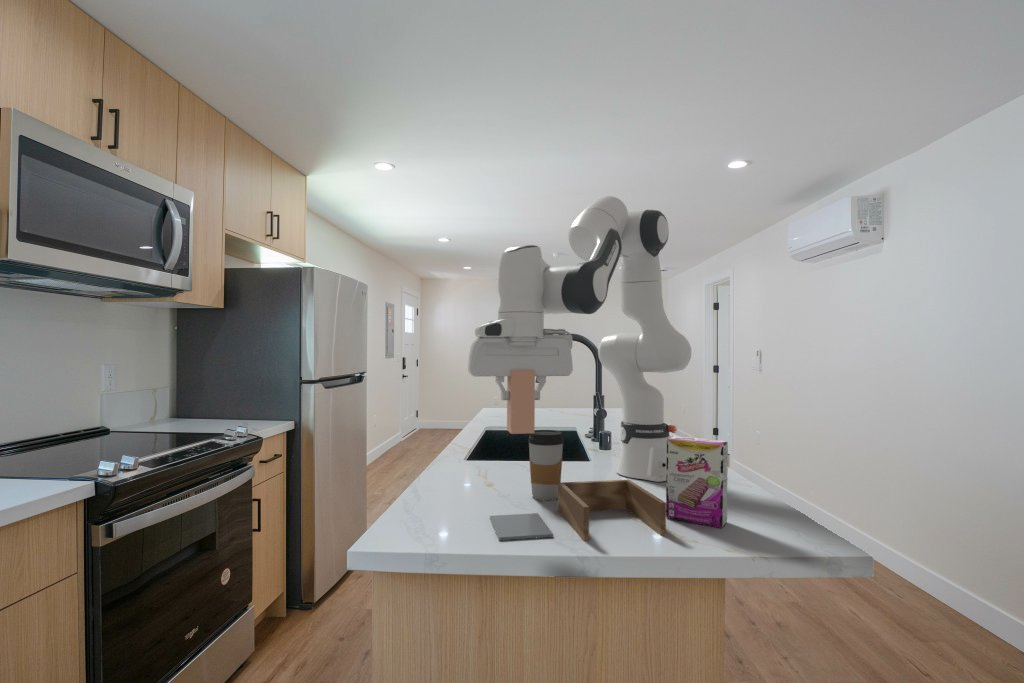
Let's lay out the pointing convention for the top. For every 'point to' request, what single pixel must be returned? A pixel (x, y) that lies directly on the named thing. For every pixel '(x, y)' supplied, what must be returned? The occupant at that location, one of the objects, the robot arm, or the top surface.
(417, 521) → the top surface
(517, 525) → the slate coaster
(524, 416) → the terracotta block
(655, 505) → the walnut bay
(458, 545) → the top surface
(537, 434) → the coffee cup
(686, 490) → the candy bar box
